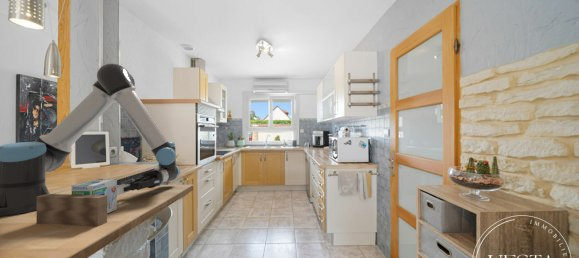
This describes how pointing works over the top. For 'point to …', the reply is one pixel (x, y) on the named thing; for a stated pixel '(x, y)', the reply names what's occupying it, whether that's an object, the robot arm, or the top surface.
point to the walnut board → (72, 209)
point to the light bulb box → (99, 190)
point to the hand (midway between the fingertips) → (112, 192)
